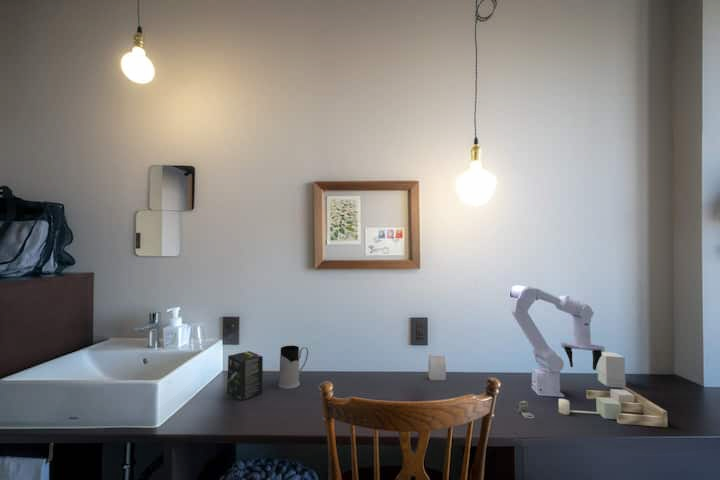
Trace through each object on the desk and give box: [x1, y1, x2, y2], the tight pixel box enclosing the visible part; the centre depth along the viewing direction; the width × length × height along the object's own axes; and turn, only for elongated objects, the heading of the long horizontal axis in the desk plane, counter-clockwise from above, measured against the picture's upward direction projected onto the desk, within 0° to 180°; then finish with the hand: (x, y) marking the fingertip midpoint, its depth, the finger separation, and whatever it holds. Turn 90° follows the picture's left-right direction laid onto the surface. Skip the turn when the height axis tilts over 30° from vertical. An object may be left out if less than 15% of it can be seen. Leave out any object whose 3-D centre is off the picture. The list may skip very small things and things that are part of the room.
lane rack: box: [585, 386, 669, 428], centre depth 117 cm, size 14×20×5 cm
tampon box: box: [226, 350, 264, 402], centre depth 129 cm, size 11×9×15 cm
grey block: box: [609, 388, 635, 403], centre depth 121 cm, size 5×5×5 cm
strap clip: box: [513, 400, 535, 420], centre depth 115 cm, size 8×3×4 cm, turn 3°
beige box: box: [427, 354, 447, 381], centre depth 147 cm, size 4×7×10 cm, turn 90°
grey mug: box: [277, 345, 309, 390], centre depth 141 cm, size 9×14×15 cm, turn 139°
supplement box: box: [597, 351, 627, 389], centre depth 142 cm, size 7×7×13 cm
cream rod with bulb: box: [558, 397, 622, 420], centre depth 114 cm, size 18×5×5 cm, turn 82°
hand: (582, 367), depth 133 cm, fingers open, 7 cm apart
